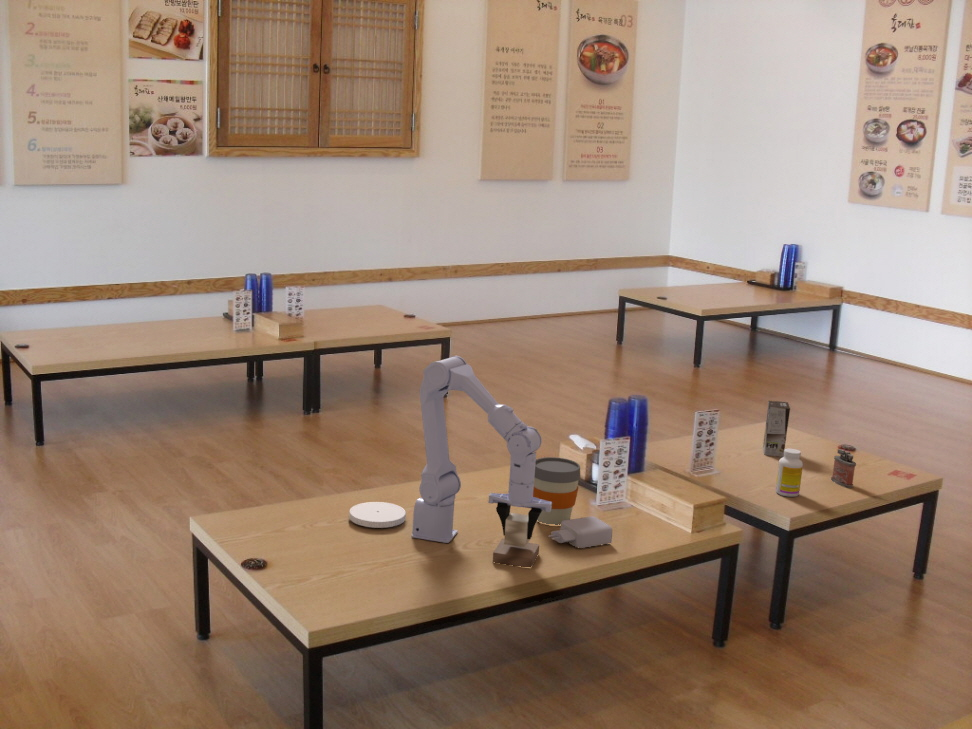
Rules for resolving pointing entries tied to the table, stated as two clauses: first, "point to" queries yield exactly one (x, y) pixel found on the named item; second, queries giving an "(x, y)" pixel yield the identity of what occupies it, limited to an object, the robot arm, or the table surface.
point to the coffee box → (776, 428)
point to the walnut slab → (516, 554)
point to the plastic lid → (377, 514)
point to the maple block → (516, 530)
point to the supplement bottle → (789, 473)
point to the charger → (583, 532)
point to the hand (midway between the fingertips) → (517, 536)
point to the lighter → (843, 469)
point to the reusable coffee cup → (556, 487)
